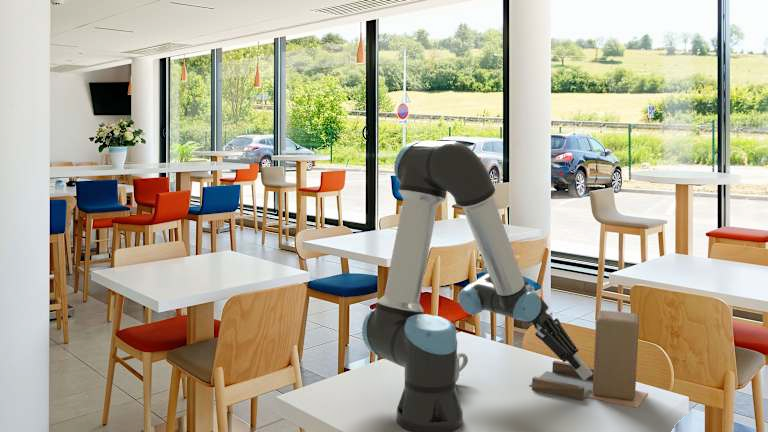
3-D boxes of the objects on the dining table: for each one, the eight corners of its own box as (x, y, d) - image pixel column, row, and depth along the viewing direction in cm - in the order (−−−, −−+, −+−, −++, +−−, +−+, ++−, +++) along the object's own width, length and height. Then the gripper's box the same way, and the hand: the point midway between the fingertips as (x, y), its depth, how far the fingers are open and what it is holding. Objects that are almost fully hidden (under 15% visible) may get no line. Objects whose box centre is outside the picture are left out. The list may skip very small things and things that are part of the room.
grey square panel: (586, 398, 166) (586, 397, 166) (529, 385, 174) (529, 385, 174) (601, 382, 177) (601, 382, 176) (546, 371, 185) (546, 371, 185)
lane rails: (582, 400, 164) (582, 388, 164) (531, 389, 171) (532, 378, 171) (601, 380, 178) (601, 369, 178) (554, 370, 186) (554, 360, 185)
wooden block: (634, 387, 172) (638, 312, 170) (634, 402, 163) (639, 322, 161) (594, 382, 176) (597, 309, 174) (592, 396, 167) (596, 318, 164)
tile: (637, 408, 160) (637, 407, 160) (587, 397, 167) (587, 396, 167) (647, 393, 169) (647, 393, 169) (600, 384, 176) (600, 383, 176)
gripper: (529, 301, 172) (592, 376, 165) (546, 292, 183) (606, 362, 176) (510, 318, 175) (570, 392, 168) (527, 308, 186) (585, 377, 179)
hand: (588, 377), depth 172 cm, fingers closed
